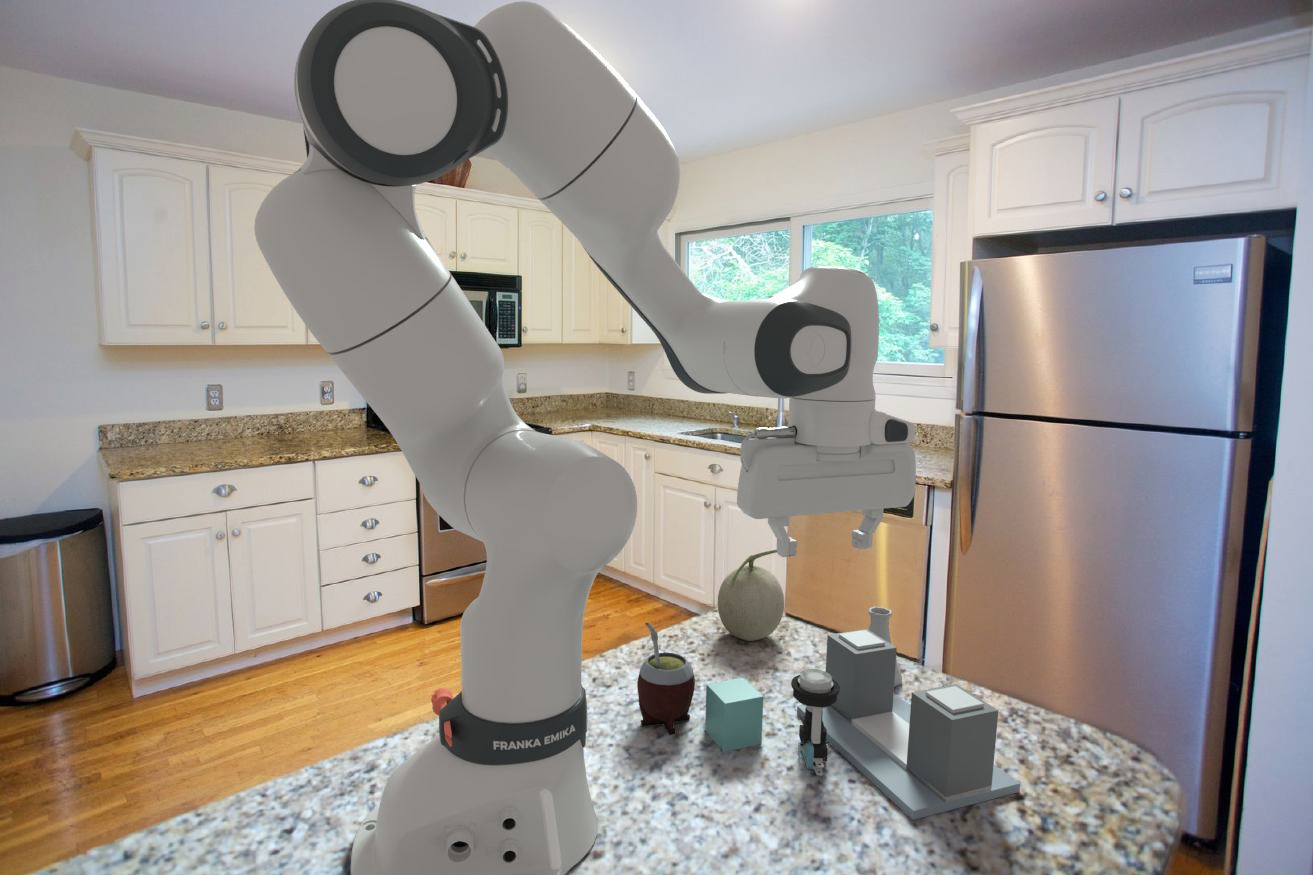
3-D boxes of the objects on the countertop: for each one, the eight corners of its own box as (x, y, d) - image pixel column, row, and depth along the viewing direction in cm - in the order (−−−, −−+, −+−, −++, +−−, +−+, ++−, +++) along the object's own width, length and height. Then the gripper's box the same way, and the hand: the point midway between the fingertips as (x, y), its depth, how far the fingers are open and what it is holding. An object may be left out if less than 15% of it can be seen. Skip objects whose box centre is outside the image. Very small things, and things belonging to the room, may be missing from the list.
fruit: (700, 639, 116) (702, 548, 113) (740, 619, 124) (743, 533, 122) (756, 659, 109) (760, 562, 107) (795, 636, 118) (799, 546, 115)
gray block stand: (912, 819, 73) (920, 722, 72) (796, 712, 93) (800, 635, 92) (1019, 791, 78) (1028, 700, 77) (887, 695, 98) (892, 622, 97)
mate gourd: (683, 704, 95) (686, 594, 93) (703, 736, 88) (707, 617, 85) (627, 711, 93) (629, 599, 91) (643, 745, 86) (645, 623, 83)
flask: (842, 680, 103) (846, 612, 101) (860, 662, 109) (863, 597, 107) (893, 695, 99) (898, 624, 97) (909, 675, 105) (914, 608, 103)
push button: (843, 780, 80) (848, 693, 78) (794, 779, 80) (798, 692, 78) (829, 745, 86) (833, 665, 85) (784, 745, 86) (788, 664, 85)
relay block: (763, 696, 86) (761, 743, 86) (743, 677, 90) (741, 722, 91) (725, 703, 84) (723, 752, 85) (706, 683, 88) (705, 730, 89)
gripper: (756, 432, 71) (752, 569, 73) (928, 425, 78) (920, 551, 80) (728, 424, 77) (725, 551, 79) (891, 418, 83) (884, 535, 86)
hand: (824, 551), depth 79 cm, fingers open, 8 cm apart
